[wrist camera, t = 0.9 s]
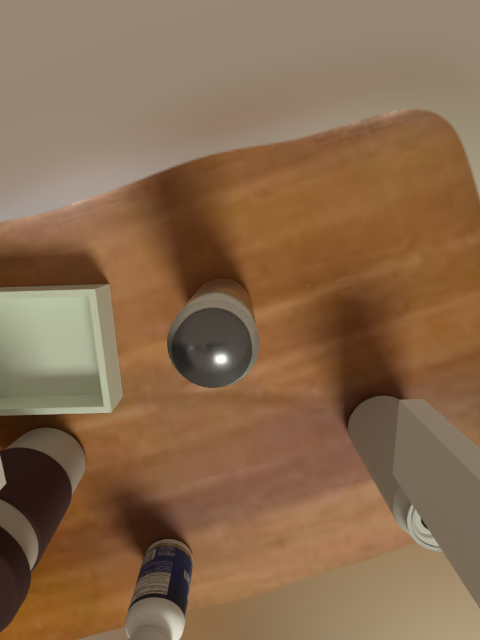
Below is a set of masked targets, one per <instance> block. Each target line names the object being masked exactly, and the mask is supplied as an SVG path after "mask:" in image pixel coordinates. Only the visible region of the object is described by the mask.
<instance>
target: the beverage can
mask: <svg viewBox="0 0 480 640" xmlns="http://www.w3.org/2000/svg"><path fill="white" fill-rule="evenodd" d="M398 410H399V399H397V398H395V397H391V396H376V397H372V398H370V399H367V400H365V401H364V402H362V403H361V404H360V405H358V406H357V407H356V409H355V410H354V411H353V413H352V415H351V416H350V419H349V423H348V433H349V437H350V439H351V441H352V443H353V445H354V446H355V448H356V450H357V452H358V454H359V455H360V457H361V459H362V461H363V463H364V464H365V466H366V468H367V470H368V471H369V473H370V475H371V477H372V479H373V480H374V482H375V484H376V486H377V488H378V489H379V491H380V493H381V495H382V496H383V498H384V500H385V502H386V504H387V505H388V507H389V509H390V511H391V512H392V514H393V516H394V518H395V520H396V521H397V523H398V525H399V526H400V527H401V528H402V529H403V530H404V531H405V532H407V533H408V534H410V535H411V536H412V538H413V539H414V540H415V541H416V542H417V543H418V544H419V545H421V546H423V547H425V548H427V549H430V550H433V551H440V552H441V551H442V549H441V548H440V546H439V545H438V543H437V542H436V540H435V539H434V537H433V536H432V534H431V532H430V531H429V529H428V528H427V526H426V525H425V523H424V522H423V520H422V519H421V517H420V516H419V514H418V513H417V511H416V509H415V508H414V506H413V505H412V503H411V502H410V500H409V499H408V497H407V496H406V494H405V493H404V491H403V489H402V488H401V486H400V485H399V483H398V482H397V480H396V479H395V477H394V476H393V474H392V473H393V463H394V452H395V441H396V431H397V420H398Z"/></svg>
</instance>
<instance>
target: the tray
mask: <svg viewBox="0 0 480 640" xmlns="http://www.w3.org/2000/svg"><path fill="white" fill-rule="evenodd" d="M122 397H123V392H122V384H121V375H120V367H119V359H118V351H117V343H116V334H115V326H114V318H113V310H112V301H111V293H110V285H109V284H91V285H58V286H25V287H0V416H7V415H42V414H77V413H111V412H112V411H113V410H114V408H115V407H116V406H117V404H118V403H119V401H120V400H121V399H122Z"/></svg>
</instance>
